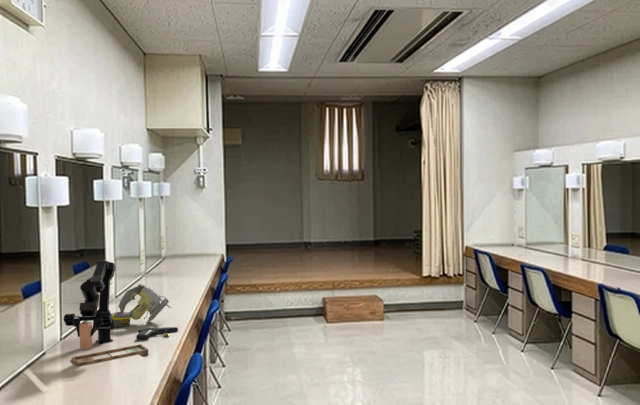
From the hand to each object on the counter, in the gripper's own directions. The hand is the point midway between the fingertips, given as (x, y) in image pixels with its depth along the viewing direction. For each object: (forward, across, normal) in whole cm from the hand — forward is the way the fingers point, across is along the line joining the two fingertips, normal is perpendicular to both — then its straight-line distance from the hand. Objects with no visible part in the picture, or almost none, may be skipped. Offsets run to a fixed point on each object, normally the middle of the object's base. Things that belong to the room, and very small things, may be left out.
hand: (84, 336), depth 215 cm
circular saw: (-39, +12, +58) cm, 71 cm away
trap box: (+5, +9, +13) cm, 16 cm away
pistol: (-19, +25, +38) cm, 49 cm away
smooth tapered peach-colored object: (+3, 0, +5) cm, 5 cm away
